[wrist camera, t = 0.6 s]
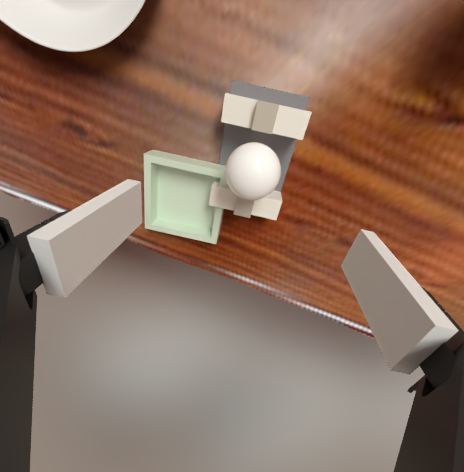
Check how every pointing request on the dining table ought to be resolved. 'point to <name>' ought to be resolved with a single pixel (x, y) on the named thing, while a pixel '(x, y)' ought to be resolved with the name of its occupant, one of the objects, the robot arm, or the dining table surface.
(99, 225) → the robot arm
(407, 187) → the dining table surface
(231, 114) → the holder
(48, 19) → the bowl
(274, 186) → the lightbulb
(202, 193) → the tray
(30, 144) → the dining table surface
